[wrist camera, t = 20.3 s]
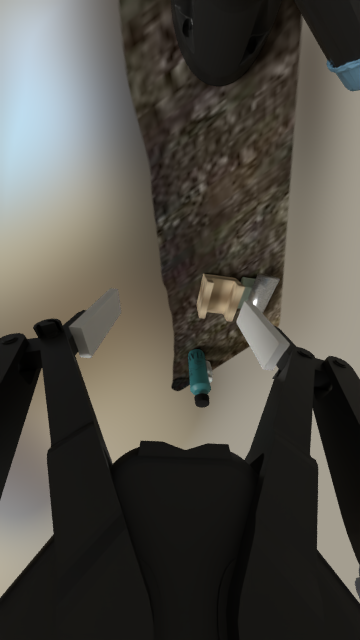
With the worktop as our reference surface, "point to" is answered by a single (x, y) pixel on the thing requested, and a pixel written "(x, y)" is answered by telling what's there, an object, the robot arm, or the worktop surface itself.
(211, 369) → the pill bottle
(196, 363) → the beverage bottle
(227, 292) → the wooden bracket
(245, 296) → the v block
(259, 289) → the axle
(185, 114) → the worktop surface
